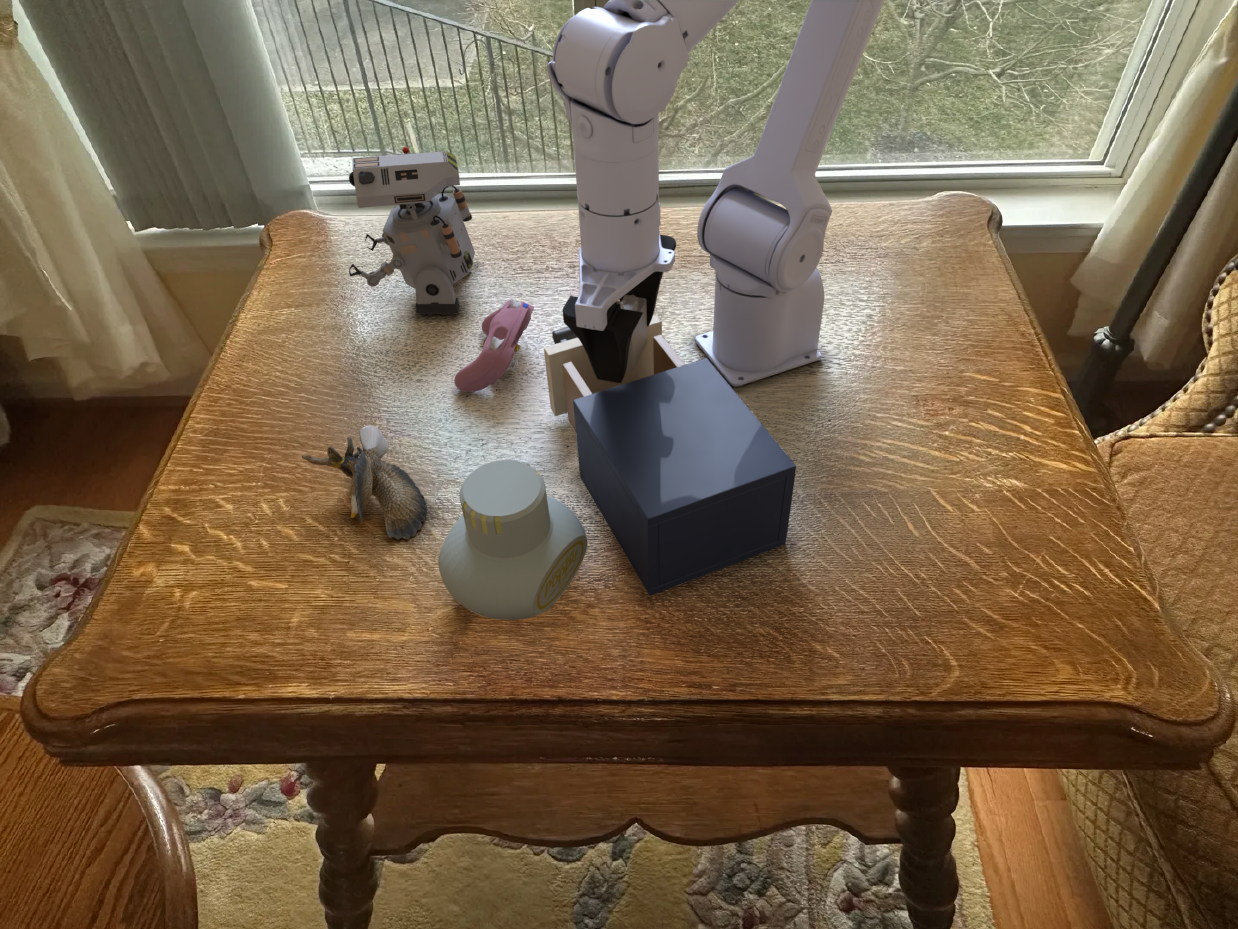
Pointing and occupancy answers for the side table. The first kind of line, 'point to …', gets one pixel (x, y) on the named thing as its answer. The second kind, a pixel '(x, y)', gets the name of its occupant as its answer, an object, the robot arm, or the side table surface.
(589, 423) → the cabinet
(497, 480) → the air freshener
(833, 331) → the side table surface
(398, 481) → the eagle figurine
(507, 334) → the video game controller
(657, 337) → the drawer
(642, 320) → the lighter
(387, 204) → the figurine
